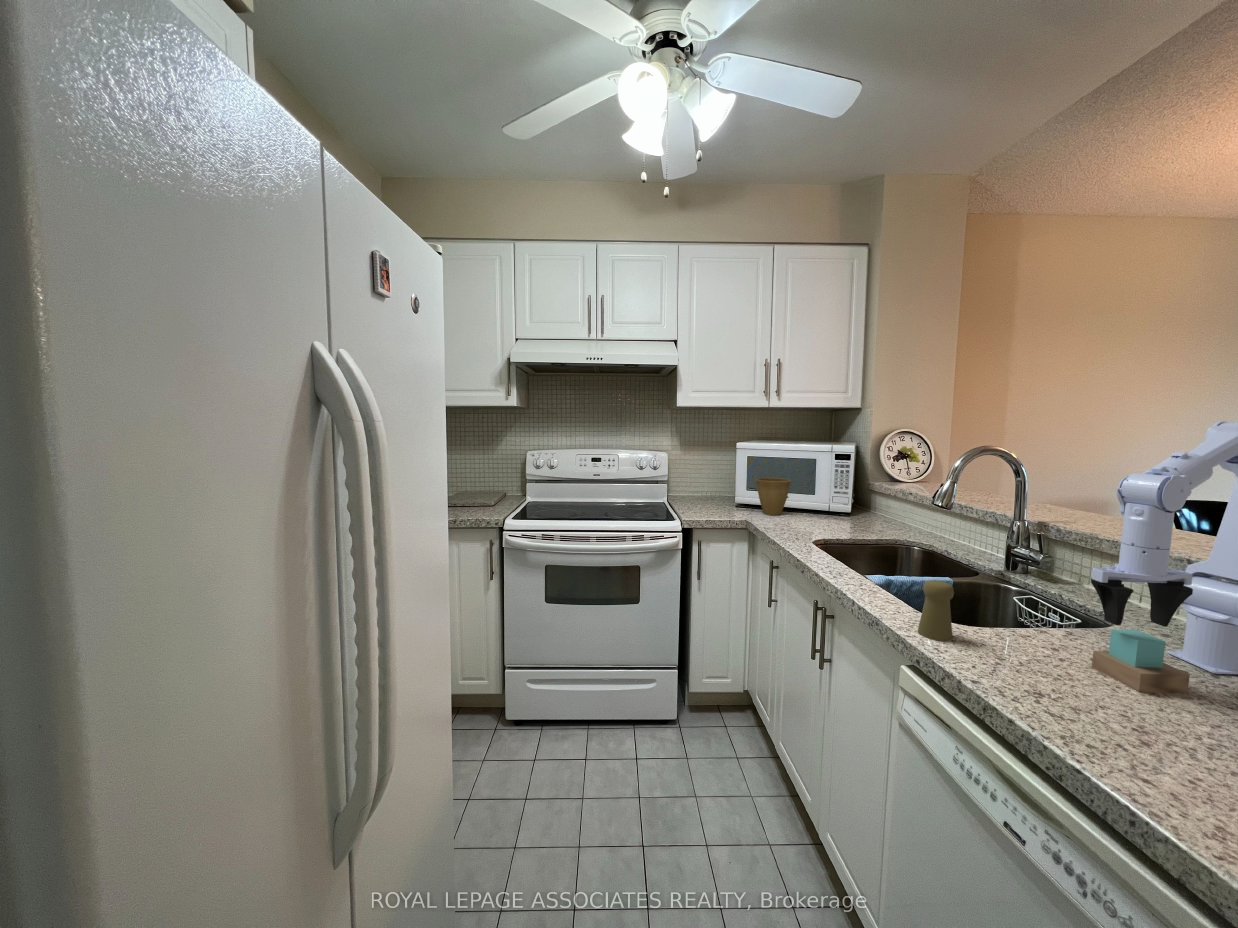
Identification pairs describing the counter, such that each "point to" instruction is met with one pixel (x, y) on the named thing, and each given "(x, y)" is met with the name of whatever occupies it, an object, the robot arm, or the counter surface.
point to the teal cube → (1137, 648)
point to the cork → (936, 611)
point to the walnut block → (1141, 675)
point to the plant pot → (772, 494)
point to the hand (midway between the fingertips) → (1135, 623)
